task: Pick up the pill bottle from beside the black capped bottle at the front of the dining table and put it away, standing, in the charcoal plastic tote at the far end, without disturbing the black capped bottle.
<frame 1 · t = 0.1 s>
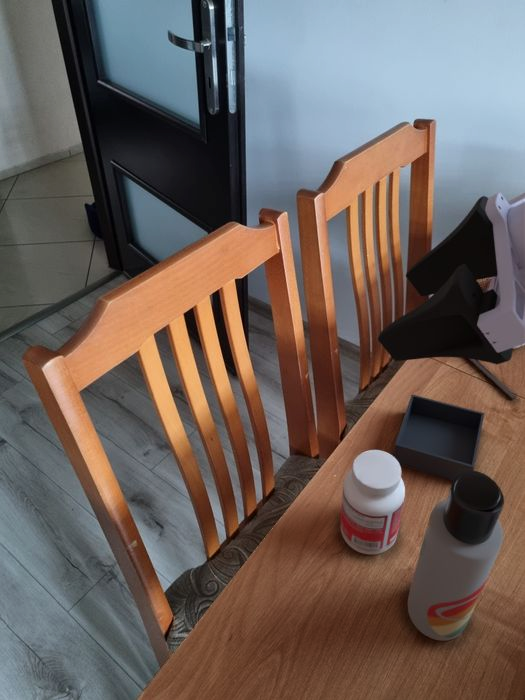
hand: (401, 313, 38), 32 cm above the table, tool tilted 50°, fingers open, 7 cm apart
tote: (436, 446, 69), on the table
running shoe: (501, 316, 89), on the table
pill bottle: (368, 531, 61), on the table
rod: (466, 357, 81), on the table
black capped bottle: (436, 612, 54), on the table
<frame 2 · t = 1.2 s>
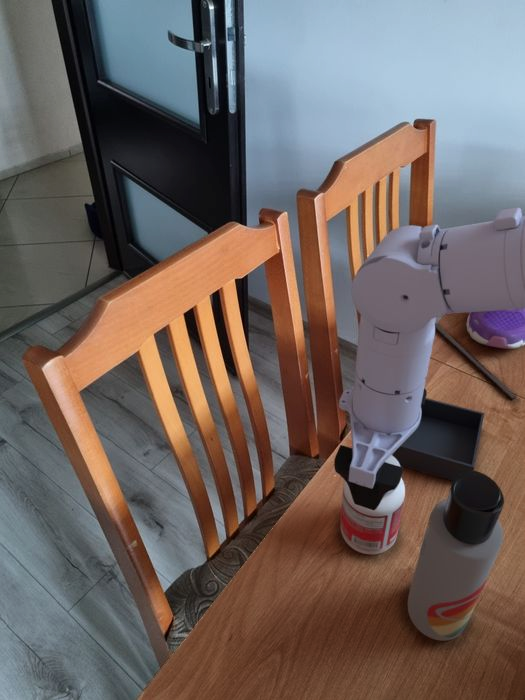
hand: (376, 472, 54), 10 cm above the table, tool pointing down, fingers open, 7 cm apart
nothing on the table moved.
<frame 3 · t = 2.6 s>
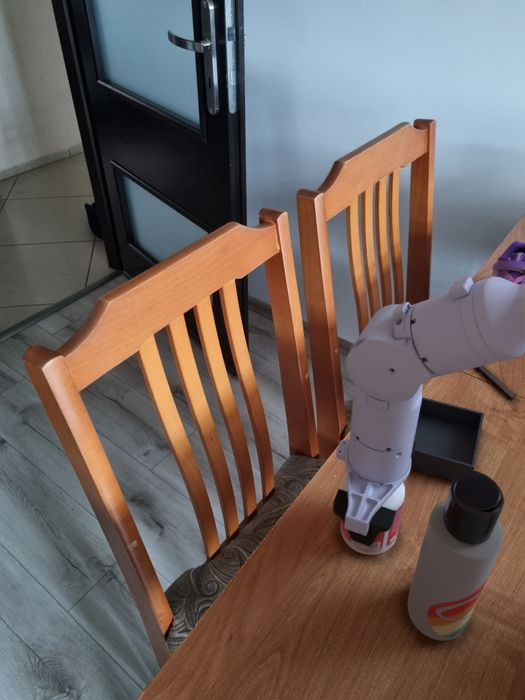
hand: (370, 513, 59), 3 cm above the table, tool pointing down, fingers closed on pill bottle, 6 cm apart
pill bottle: (367, 532, 61), on the table, touching gripper
everything else where it was.
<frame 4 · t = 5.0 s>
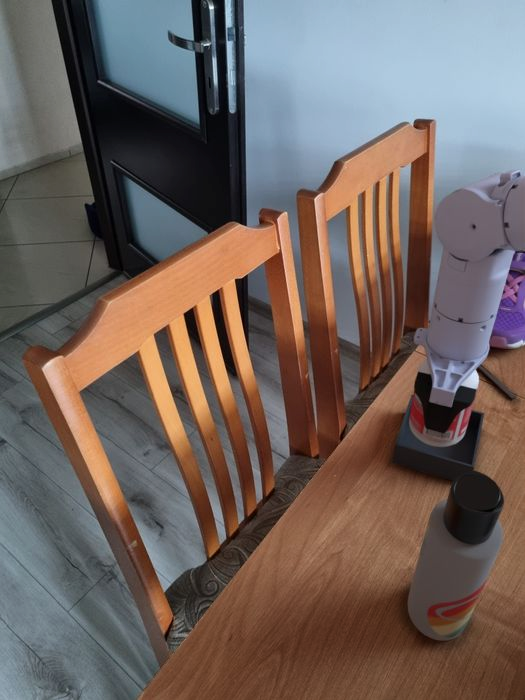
hand: (441, 406, 60), 10 cm above the table, tool pointing down, fingers closed on pill bottle, 6 cm apart
pill bottle: (435, 429, 63), point 7 cm above the table, touching gripper
everything else where it was.
when the fingers open (4 cm above the table, at t = 7.6 s): pill bottle stays where it is, resting on tote.
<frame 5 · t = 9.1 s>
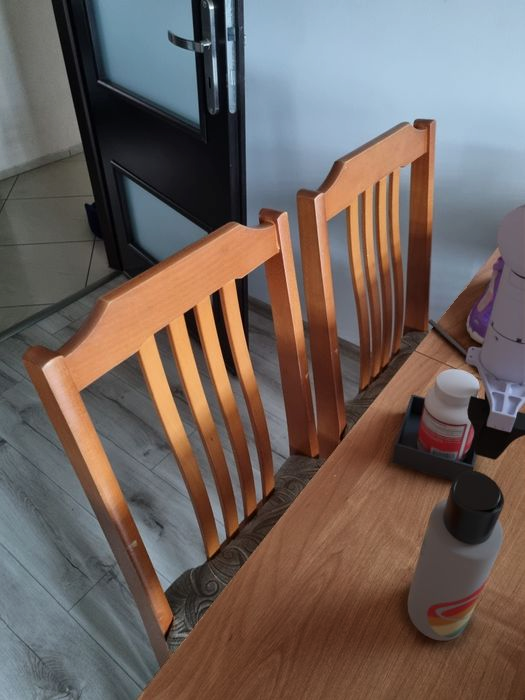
hand: (490, 427, 58), 10 cm above the table, tool pointing down, fingers open, 7 cm apart
pill bottle: (441, 449, 69), resting on tote
everything else where it was.
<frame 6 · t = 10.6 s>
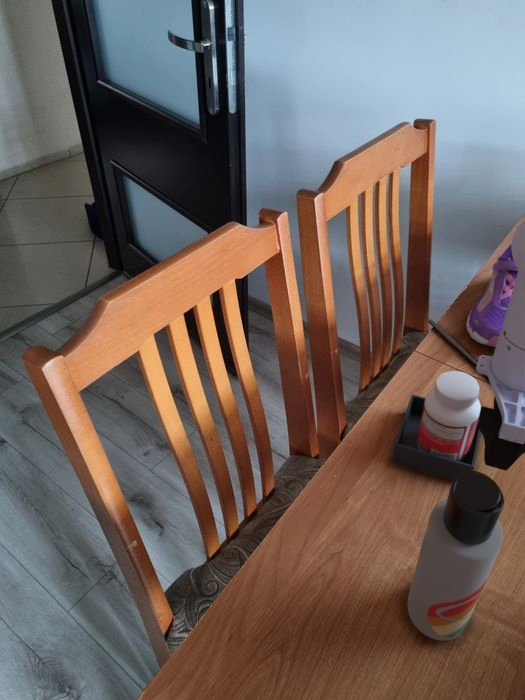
hand: (500, 437, 57), 10 cm above the table, tool pointing down, fingers open, 7 cm apart
nothing on the table moved.
at the end: pill bottle 0.9 cm off-centre in the tote, point 0.2 cm above the tote's base; pill bottle tilted 0°; black capped bottle moved 0.2 cm from its start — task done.
